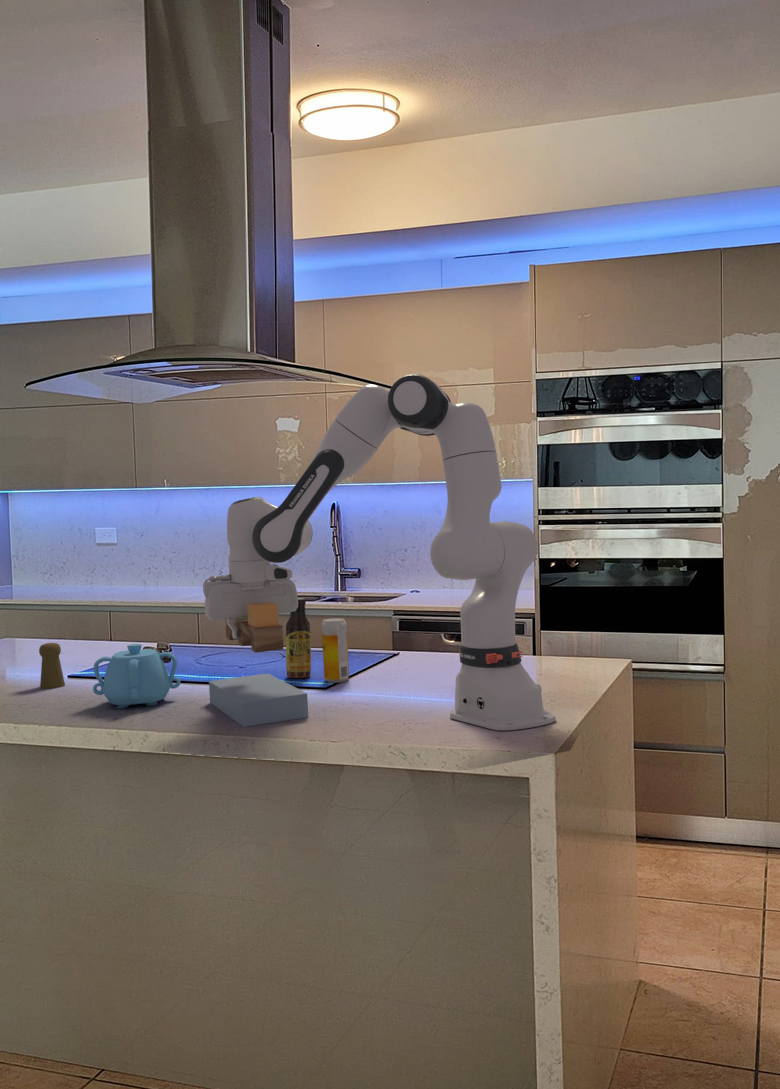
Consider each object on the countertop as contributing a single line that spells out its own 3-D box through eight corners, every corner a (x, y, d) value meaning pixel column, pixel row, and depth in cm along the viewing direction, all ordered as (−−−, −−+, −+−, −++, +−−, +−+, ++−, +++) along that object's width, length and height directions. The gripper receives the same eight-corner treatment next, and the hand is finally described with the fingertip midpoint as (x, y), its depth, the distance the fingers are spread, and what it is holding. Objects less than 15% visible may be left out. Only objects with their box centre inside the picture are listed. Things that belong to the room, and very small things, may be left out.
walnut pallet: (283, 649, 212) (282, 625, 211) (255, 652, 209) (254, 628, 209) (252, 635, 232) (250, 613, 231) (226, 638, 229) (225, 616, 229)
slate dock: (308, 717, 212) (307, 693, 212) (243, 726, 207) (242, 702, 206) (269, 694, 236) (267, 673, 236) (210, 702, 230) (208, 681, 230)
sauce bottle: (289, 680, 251) (284, 600, 250) (284, 676, 257) (280, 598, 256) (315, 677, 253) (310, 598, 251) (309, 673, 259) (305, 596, 257)
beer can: (336, 677, 253) (333, 617, 252) (354, 679, 249) (351, 618, 248) (319, 681, 248) (316, 620, 247) (337, 684, 244) (334, 622, 243)
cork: (57, 688, 254) (54, 645, 253) (35, 688, 255) (32, 645, 255) (69, 683, 260) (66, 641, 259) (48, 683, 261) (45, 641, 260)
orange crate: (278, 625, 212) (277, 603, 212) (255, 627, 210) (254, 606, 209) (270, 622, 216) (269, 601, 216) (248, 624, 214) (247, 603, 214)
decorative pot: (188, 700, 235) (185, 641, 234) (130, 714, 223) (126, 652, 222) (145, 692, 245) (142, 636, 245) (87, 705, 233) (84, 647, 232)
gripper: (206, 578, 212) (210, 643, 213) (298, 570, 220) (302, 633, 221) (198, 575, 218) (202, 639, 219) (289, 568, 226) (292, 629, 227)
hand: (253, 636), depth 220 cm, fingers closed on walnut pallet, 6 cm apart
